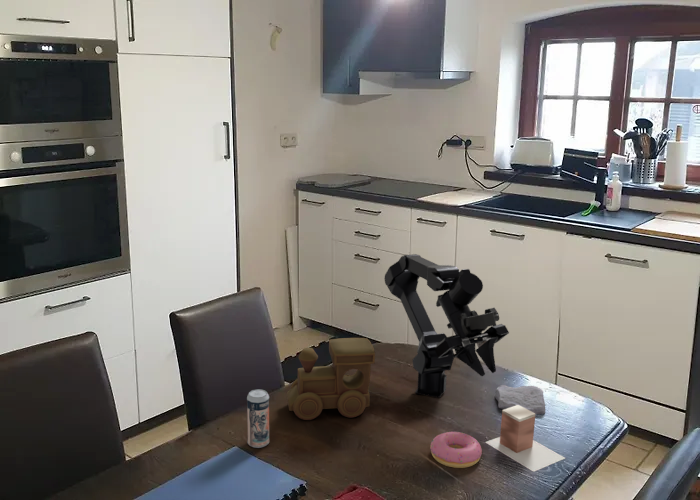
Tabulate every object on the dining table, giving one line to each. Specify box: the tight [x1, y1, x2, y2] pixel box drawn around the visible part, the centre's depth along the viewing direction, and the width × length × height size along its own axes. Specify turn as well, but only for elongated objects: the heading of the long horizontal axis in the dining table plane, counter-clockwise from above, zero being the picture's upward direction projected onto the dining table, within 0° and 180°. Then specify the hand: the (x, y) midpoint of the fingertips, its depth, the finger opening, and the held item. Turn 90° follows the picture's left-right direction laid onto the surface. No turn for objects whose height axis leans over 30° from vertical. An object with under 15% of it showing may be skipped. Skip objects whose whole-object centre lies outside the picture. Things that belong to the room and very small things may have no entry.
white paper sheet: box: [485, 436, 566, 473], centre depth 151 cm, size 14×10×1 cm
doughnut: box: [429, 431, 483, 469], centre depth 147 cm, size 11×11×4 cm
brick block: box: [499, 405, 536, 453], centre depth 152 cm, size 5×5×8 cm
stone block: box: [494, 384, 546, 415], centre depth 172 cm, size 12×5×10 cm
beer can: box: [246, 388, 270, 449], centre depth 150 cm, size 5×5×12 cm
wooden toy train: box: [286, 337, 376, 421], centre depth 166 cm, size 20×11×17 cm, turn 99°
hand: (488, 373), depth 157 cm, fingers open, 3 cm apart
